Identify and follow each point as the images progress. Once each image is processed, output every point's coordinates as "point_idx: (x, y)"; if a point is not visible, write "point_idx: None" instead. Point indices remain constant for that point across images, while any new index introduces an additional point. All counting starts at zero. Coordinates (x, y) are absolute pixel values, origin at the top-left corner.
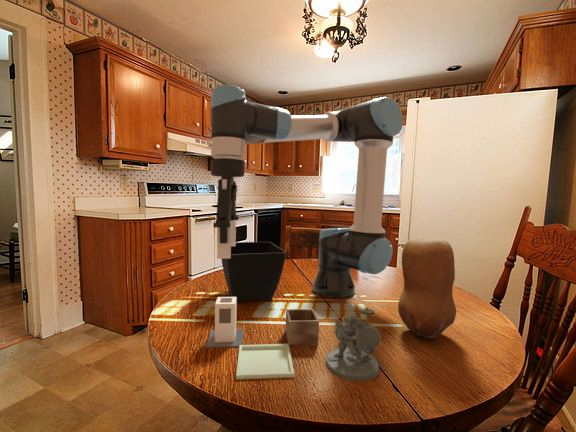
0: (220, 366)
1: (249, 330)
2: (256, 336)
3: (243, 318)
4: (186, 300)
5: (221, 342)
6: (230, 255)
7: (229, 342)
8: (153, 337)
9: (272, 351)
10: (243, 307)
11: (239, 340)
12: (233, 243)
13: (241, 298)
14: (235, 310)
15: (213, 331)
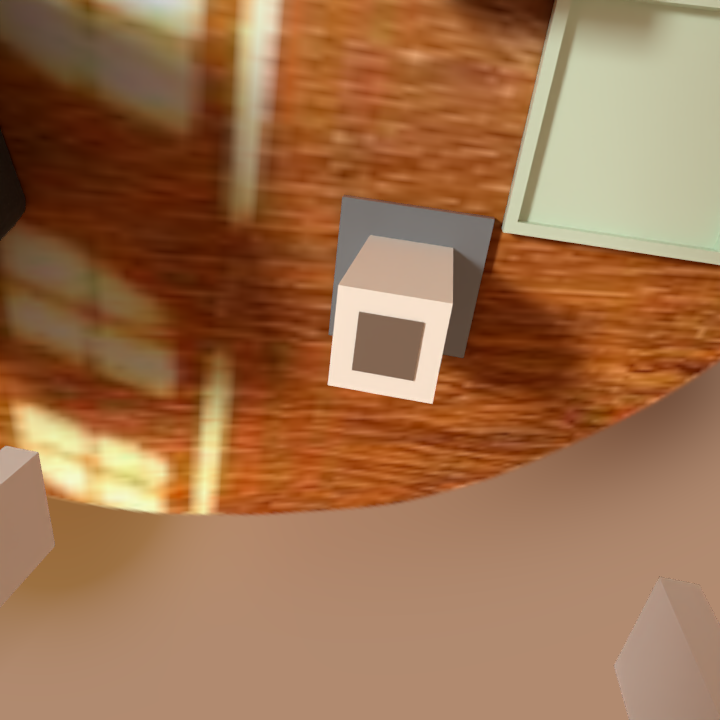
0: (601, 307)
1: (337, 165)
2: (403, 137)
3: (207, 182)
4: (22, 420)
5: None
6: (701, 608)
7: (455, 269)
8: (341, 506)
9: (577, 78)
10: (75, 169)
11: (447, 226)
12: (18, 491)
13: (6, 180)
14: (424, 282)
15: None
